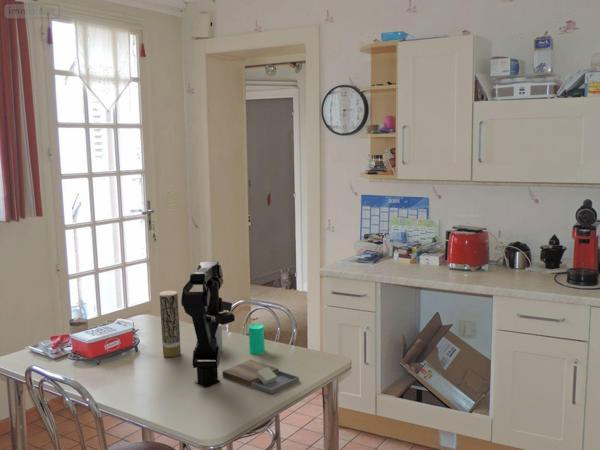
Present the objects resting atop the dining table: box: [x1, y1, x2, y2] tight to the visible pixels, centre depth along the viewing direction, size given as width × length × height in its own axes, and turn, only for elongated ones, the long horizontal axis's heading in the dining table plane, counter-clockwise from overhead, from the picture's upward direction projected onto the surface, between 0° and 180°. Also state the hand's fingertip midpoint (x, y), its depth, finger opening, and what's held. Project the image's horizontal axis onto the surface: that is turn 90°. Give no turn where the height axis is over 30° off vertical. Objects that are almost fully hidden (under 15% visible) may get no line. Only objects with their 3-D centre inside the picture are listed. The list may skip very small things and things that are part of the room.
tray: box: [250, 369, 300, 395], centre depth 216 cm, size 14×10×2 cm
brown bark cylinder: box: [159, 290, 182, 358], centre depth 244 cm, size 7×7×25 cm
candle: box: [248, 323, 266, 355], centre depth 246 cm, size 6×6×12 cm
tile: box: [256, 367, 277, 385], centre depth 217 cm, size 5×5×2 cm
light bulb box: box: [215, 324, 224, 353], centre depth 251 cm, size 11×7×11 cm, turn 25°
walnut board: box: [222, 359, 279, 387], centre depth 223 cm, size 14×14×2 cm
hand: (212, 337), depth 229 cm, fingers closed
